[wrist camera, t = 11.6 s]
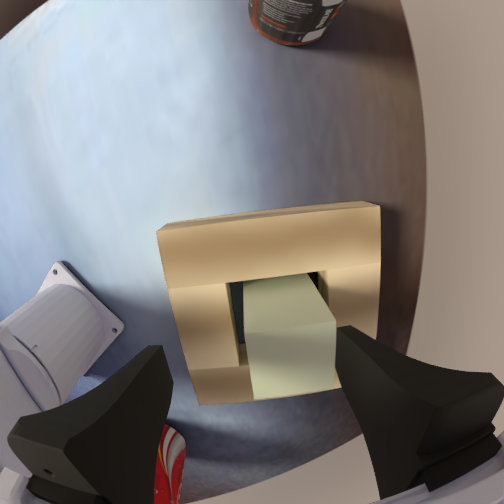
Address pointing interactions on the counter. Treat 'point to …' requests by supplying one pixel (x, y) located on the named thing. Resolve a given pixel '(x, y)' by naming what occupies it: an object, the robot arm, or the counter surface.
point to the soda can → (169, 467)
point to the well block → (265, 266)
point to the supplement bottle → (293, 19)
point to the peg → (288, 336)
